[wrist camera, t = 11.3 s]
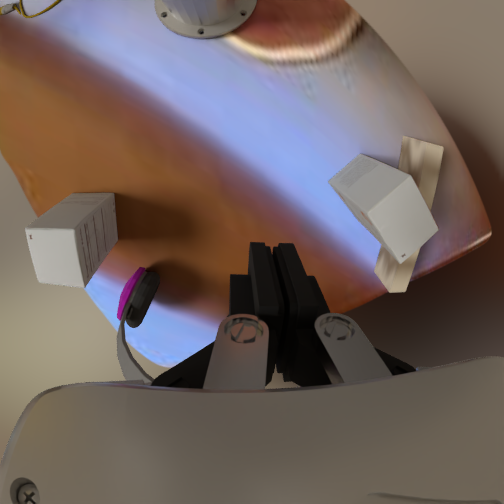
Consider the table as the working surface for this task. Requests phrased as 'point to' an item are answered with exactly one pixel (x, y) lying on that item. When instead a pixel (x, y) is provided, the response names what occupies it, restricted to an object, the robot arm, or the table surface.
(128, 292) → the headphones
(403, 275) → the birch board
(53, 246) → the supplement box
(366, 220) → the small box
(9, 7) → the extension cord
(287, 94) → the table surface
